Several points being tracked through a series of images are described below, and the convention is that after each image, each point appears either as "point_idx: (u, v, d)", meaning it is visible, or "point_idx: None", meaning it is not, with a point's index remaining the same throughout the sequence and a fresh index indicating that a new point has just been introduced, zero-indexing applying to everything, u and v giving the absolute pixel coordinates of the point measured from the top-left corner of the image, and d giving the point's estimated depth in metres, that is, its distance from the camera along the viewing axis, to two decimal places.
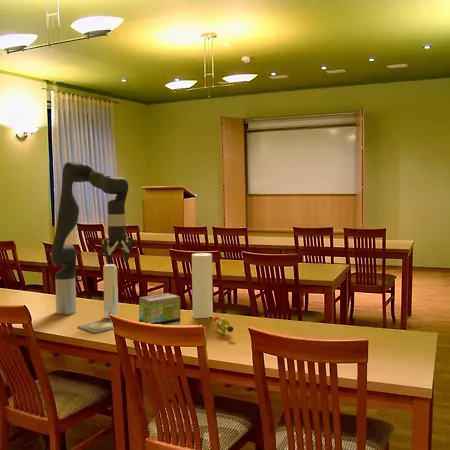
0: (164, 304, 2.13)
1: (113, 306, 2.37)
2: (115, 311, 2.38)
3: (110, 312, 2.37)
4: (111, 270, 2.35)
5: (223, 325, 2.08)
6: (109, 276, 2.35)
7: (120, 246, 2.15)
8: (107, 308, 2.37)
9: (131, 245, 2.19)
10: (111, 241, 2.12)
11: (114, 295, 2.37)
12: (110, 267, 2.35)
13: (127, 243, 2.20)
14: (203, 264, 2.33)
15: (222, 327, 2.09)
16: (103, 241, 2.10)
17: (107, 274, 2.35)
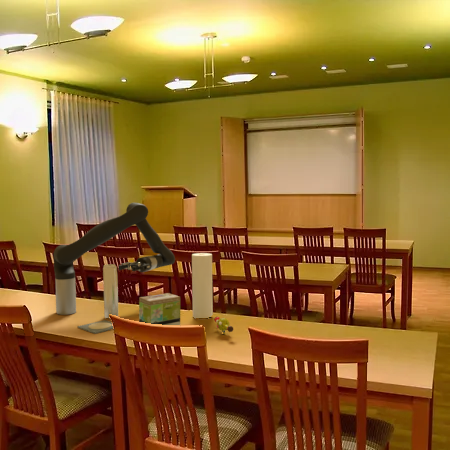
0: (164, 304, 2.13)
1: (113, 306, 2.37)
2: (115, 311, 2.38)
3: (110, 312, 2.37)
4: (111, 270, 2.35)
5: (223, 325, 2.08)
6: (109, 276, 2.35)
7: None
8: (107, 308, 2.37)
9: None
10: None
11: (114, 295, 2.37)
12: (110, 267, 2.35)
13: (126, 263, 2.57)
14: (203, 264, 2.33)
15: (222, 327, 2.09)
16: (149, 266, 2.53)
17: (107, 274, 2.35)
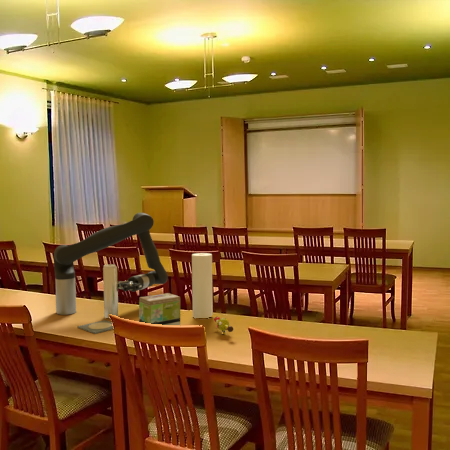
0: (164, 304, 2.13)
1: (113, 306, 2.37)
2: (115, 311, 2.38)
3: (110, 312, 2.37)
4: (111, 270, 2.35)
5: (223, 325, 2.08)
6: (109, 276, 2.35)
7: None
8: (107, 308, 2.37)
9: None
10: None
11: (114, 295, 2.37)
12: (110, 267, 2.35)
13: (118, 283, 2.52)
14: (203, 264, 2.33)
15: (222, 327, 2.09)
16: (141, 286, 2.48)
17: (107, 274, 2.35)
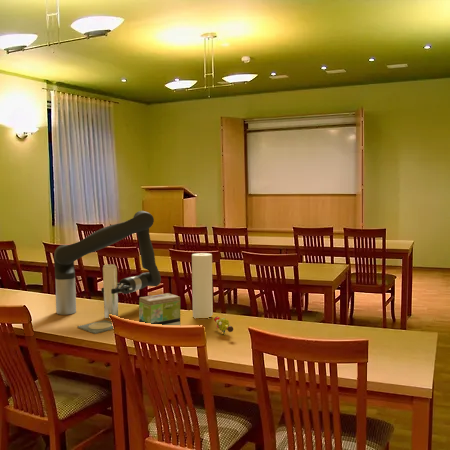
0: (164, 304, 2.13)
1: (113, 306, 2.37)
2: (115, 311, 2.38)
3: (110, 312, 2.37)
4: (111, 270, 2.35)
5: (223, 325, 2.08)
6: (109, 276, 2.35)
7: None
8: (107, 308, 2.37)
9: None
10: None
11: (114, 295, 2.37)
12: (110, 267, 2.35)
13: None
14: (203, 264, 2.33)
15: (222, 327, 2.09)
16: (131, 289, 2.42)
17: (107, 274, 2.35)
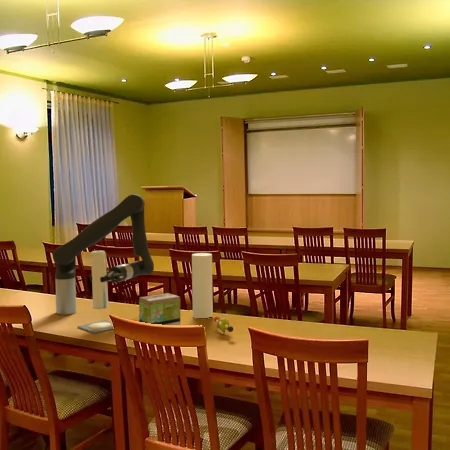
0: (164, 304, 2.13)
1: (102, 295, 2.20)
2: (105, 300, 2.21)
3: (99, 302, 2.19)
4: (100, 256, 2.18)
5: (223, 325, 2.08)
6: (97, 263, 2.18)
7: None
8: (96, 298, 2.19)
9: None
10: None
11: (103, 284, 2.20)
12: (98, 253, 2.18)
13: None
14: (203, 264, 2.33)
15: (222, 327, 2.09)
16: (122, 277, 2.25)
17: (95, 261, 2.18)
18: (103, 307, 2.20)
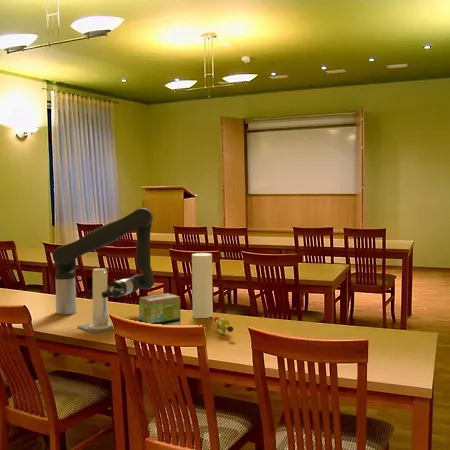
0: (164, 304, 2.13)
1: (102, 313, 2.20)
2: (105, 318, 2.21)
3: (99, 320, 2.20)
4: (101, 274, 2.19)
5: (223, 325, 2.08)
6: (99, 281, 2.19)
7: None
8: (96, 315, 2.20)
9: None
10: None
11: (103, 301, 2.20)
12: (100, 271, 2.19)
13: None
14: (203, 264, 2.33)
15: (222, 327, 2.09)
16: (123, 292, 2.25)
17: (96, 279, 2.19)
18: (103, 325, 2.20)
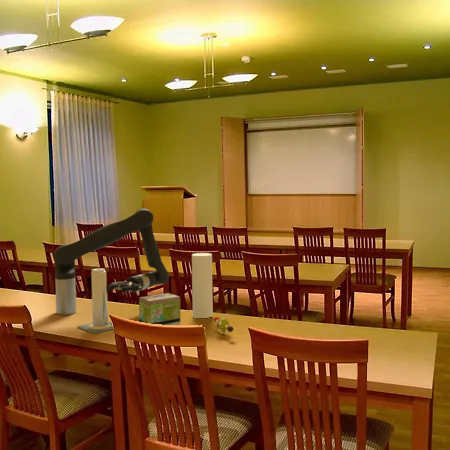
0: (164, 304, 2.13)
1: (102, 313, 2.20)
2: (105, 318, 2.21)
3: (99, 320, 2.20)
4: (100, 275, 2.18)
5: (223, 325, 2.08)
6: (98, 281, 2.18)
7: None
8: (96, 316, 2.20)
9: None
10: None
11: (103, 302, 2.20)
12: (99, 271, 2.18)
13: (116, 283, 2.40)
14: (203, 264, 2.33)
15: (222, 327, 2.09)
16: (140, 287, 2.36)
17: (95, 279, 2.18)
18: (103, 325, 2.20)
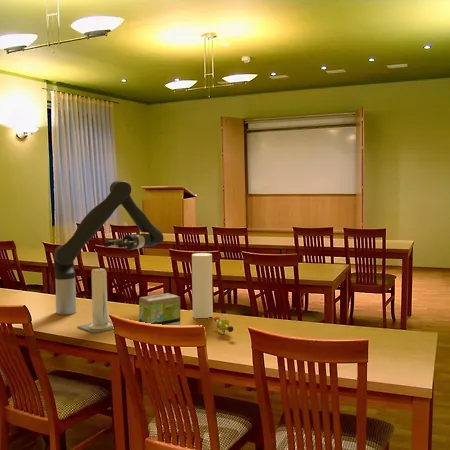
0: (164, 304, 2.13)
1: (102, 313, 2.20)
2: (105, 318, 2.21)
3: (99, 320, 2.20)
4: (100, 275, 2.18)
5: (223, 325, 2.08)
6: (98, 281, 2.18)
7: None
8: (96, 316, 2.20)
9: None
10: None
11: (103, 302, 2.20)
12: (99, 271, 2.18)
13: (113, 241, 2.49)
14: (203, 264, 2.33)
15: (222, 327, 2.09)
16: (136, 244, 2.45)
17: (95, 279, 2.18)
18: (103, 325, 2.20)
